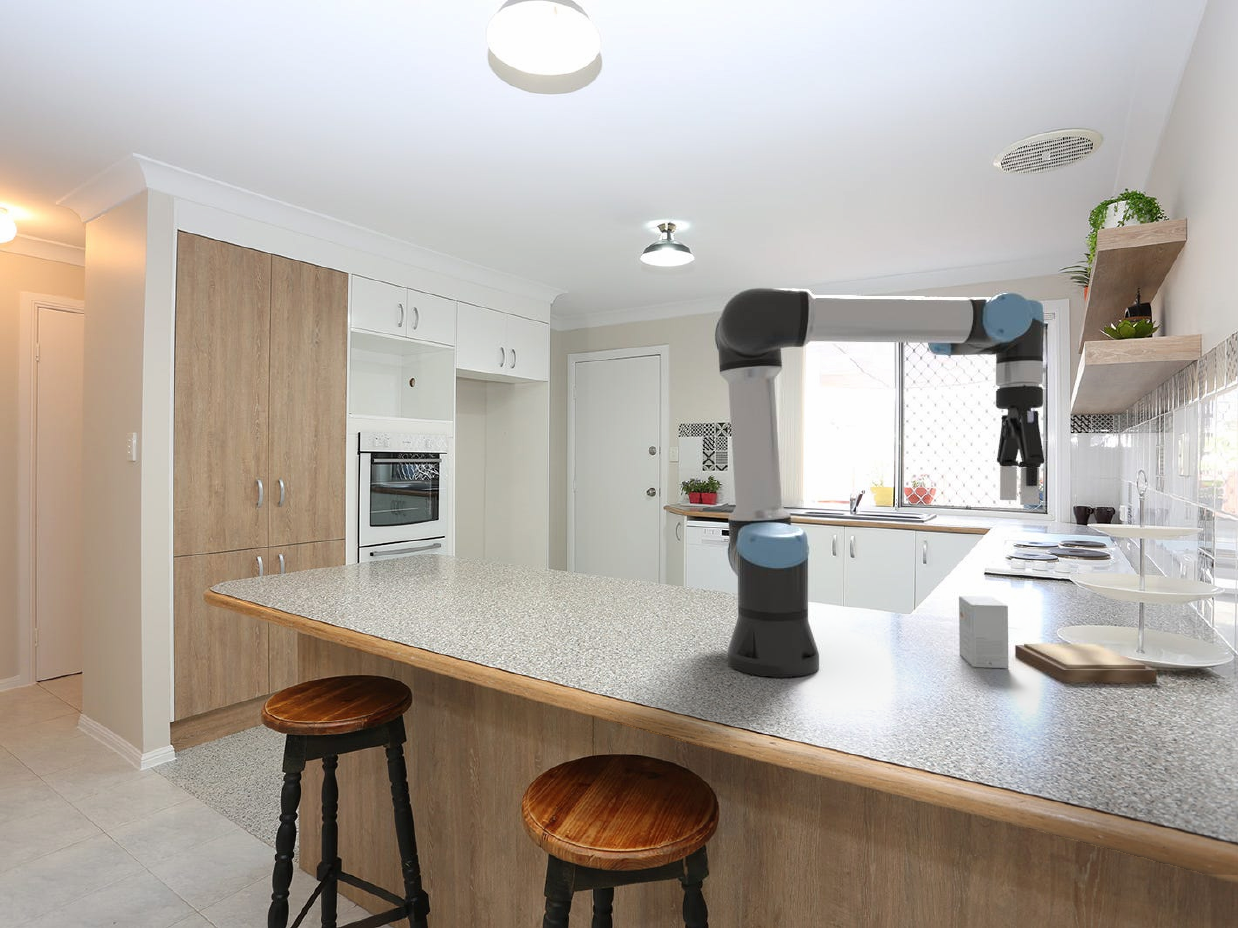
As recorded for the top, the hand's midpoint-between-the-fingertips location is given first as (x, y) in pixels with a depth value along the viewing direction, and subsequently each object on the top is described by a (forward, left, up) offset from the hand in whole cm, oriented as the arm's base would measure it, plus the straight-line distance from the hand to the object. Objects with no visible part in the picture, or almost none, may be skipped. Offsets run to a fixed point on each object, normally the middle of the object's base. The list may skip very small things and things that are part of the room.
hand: (1018, 502), depth 128 cm
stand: (+3, -14, -26) cm, 30 cm away
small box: (-11, -10, -27) cm, 31 cm away
